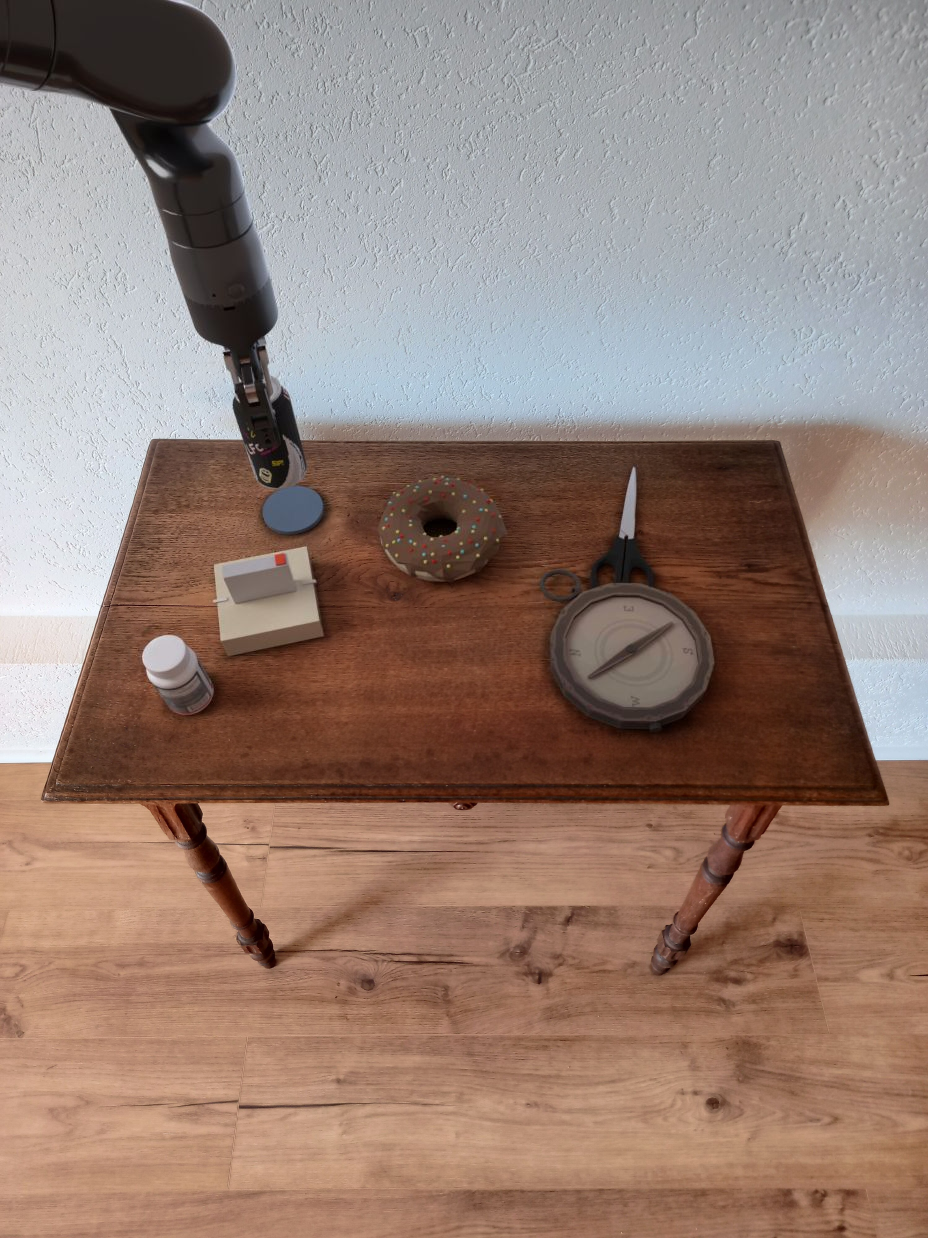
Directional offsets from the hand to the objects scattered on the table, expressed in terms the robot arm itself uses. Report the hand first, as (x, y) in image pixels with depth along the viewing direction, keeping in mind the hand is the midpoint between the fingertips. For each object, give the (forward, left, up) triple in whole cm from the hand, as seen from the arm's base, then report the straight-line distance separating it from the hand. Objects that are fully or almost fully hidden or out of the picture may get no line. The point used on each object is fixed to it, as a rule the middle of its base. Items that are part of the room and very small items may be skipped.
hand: (266, 423), depth 83 cm
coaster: (0, 0, -14) cm, 14 cm away
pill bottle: (-13, -22, -14) cm, 29 cm away
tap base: (-4, -13, -14) cm, 19 cm away
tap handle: (-4, -13, -11) cm, 17 cm away
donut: (+16, -9, -14) cm, 23 cm away
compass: (+31, -27, -14) cm, 43 cm away
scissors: (+36, -13, -14) cm, 41 cm away
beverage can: (0, 0, -8) cm, 8 cm away
